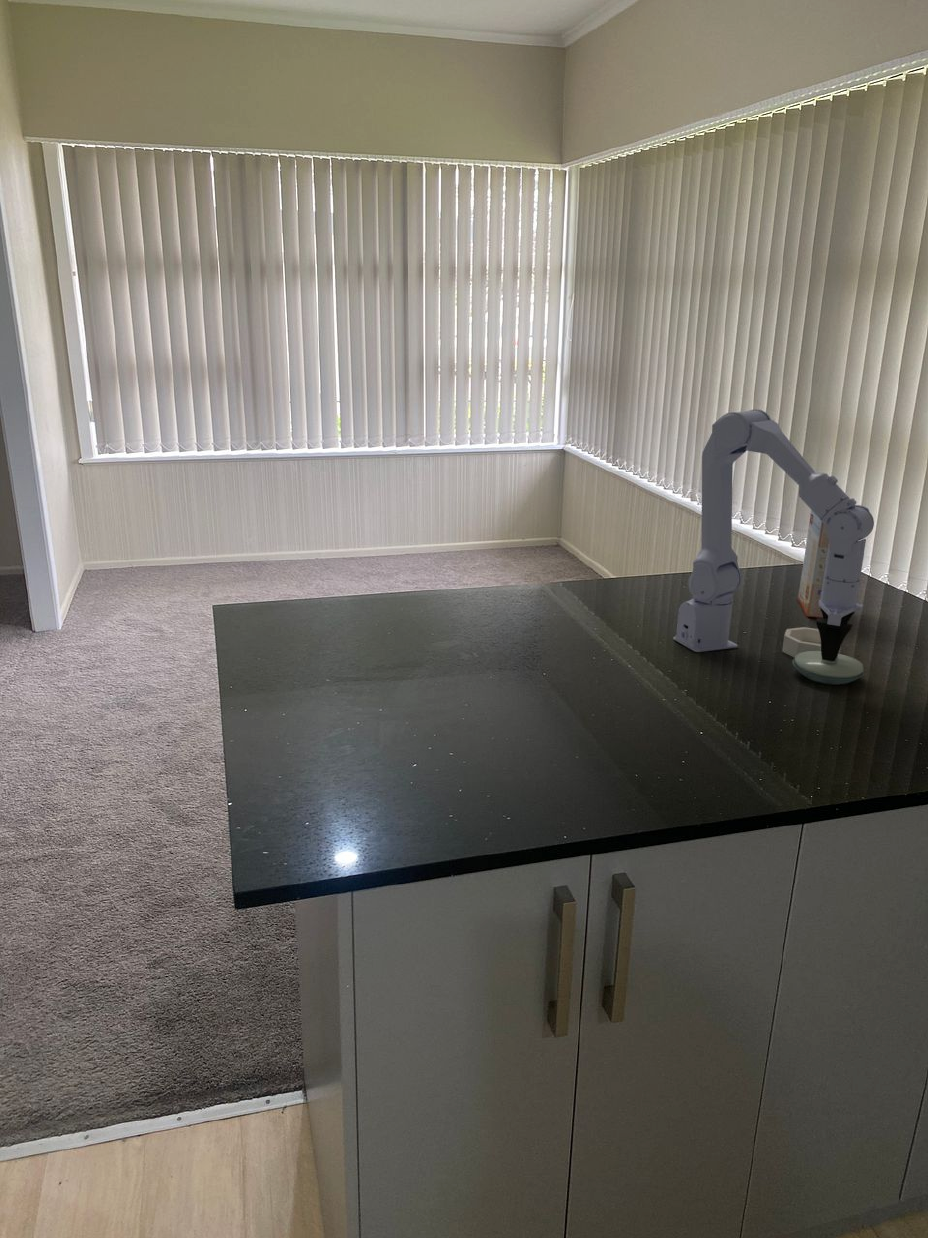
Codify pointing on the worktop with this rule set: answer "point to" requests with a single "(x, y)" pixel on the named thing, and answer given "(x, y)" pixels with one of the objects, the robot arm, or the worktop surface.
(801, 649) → the bowl
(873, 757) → the worktop surface
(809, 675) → the saucer
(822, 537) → the cracker box
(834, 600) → the robot arm
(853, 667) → the lid
